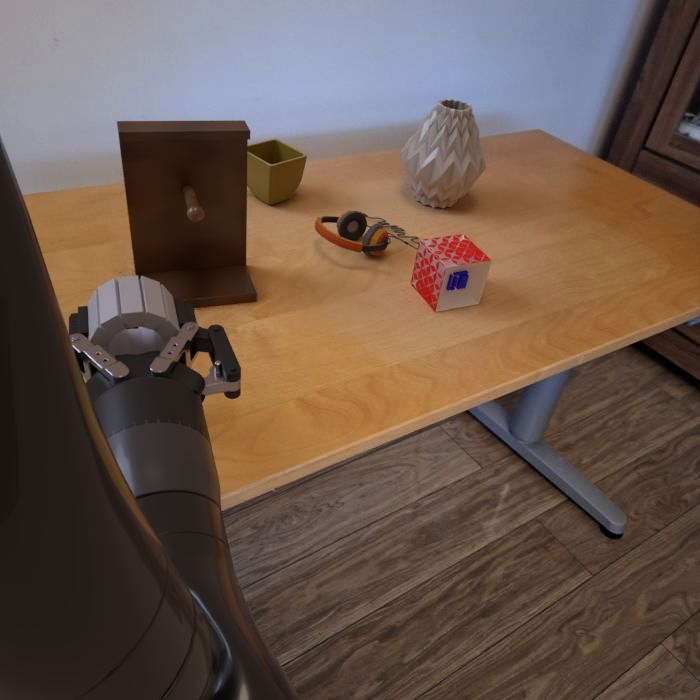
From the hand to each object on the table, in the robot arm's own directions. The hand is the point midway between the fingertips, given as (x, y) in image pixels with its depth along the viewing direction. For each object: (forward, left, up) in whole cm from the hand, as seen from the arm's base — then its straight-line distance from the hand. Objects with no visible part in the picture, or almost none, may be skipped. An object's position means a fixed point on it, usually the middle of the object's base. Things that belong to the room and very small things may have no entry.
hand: (132, 311), depth 50 cm
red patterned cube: (+46, +26, -22) cm, 57 cm away
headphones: (+39, +42, -22) cm, 61 cm away
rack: (+9, +34, -22) cm, 41 cm away
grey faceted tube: (0, -2, 0) cm, 2 cm away
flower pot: (+27, +61, -22) cm, 70 cm away
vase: (+59, +57, -22) cm, 85 cm away
